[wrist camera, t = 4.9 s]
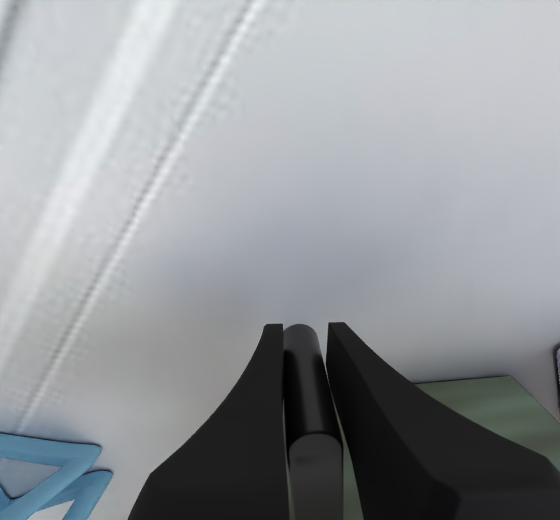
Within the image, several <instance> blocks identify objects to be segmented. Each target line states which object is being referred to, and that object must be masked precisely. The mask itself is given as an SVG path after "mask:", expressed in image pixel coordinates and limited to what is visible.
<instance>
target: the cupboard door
mask: <svg viewBox="0 0 560 520" xmlns="http://www.w3.org/2000/svg"><path fill="white" fill-rule="evenodd" d="M414 385H415V386H417V387H418V388H420V389H421V390H422V391H424V392H425V393H427V394H428V395H430V396H431V397H433V398H434V399H436V400H438V401H439V402H441V403H442V404H444V405H446V406H447V407H449V408H451V409H452V410H454V411H456V412H457V413H459V414H461V415H463V416H464V417H466V418H468V419H470V420H471V421H473V422H475V423H477V424H479V425H481V426H483V427H485V428H487V429H489V430H490V431H492V432H494V433H496V434H498V435H500V436H502V437H505V438H507V439H509V440H511V441H513V442H515V443H518V444H520V445H522V446H524V447H526V448H528V449H531V450H533V451H535V452H537V453H539V454H541V455H544V456H546V457H547V458H548V459H549V460H550V461H551V462H552V464H553V465H554V466H555V467H556V468H557V469H558V470H559V471H560V423H559V422H558V421H557V420H556V419H555V418H554V417H553V416H552V415H551V414H550V413H549V412H548V411H547V410H546V409H545V408H544V407H543V406H542V405H541V404H540V403H539V402H538V401H537V400H536V399H535V398H533V397H532V396H531V395H530V394H529V393H528V392H527V391H526V390H525V389H524V388H523V387H522V386H521V385H520V384H519V383H518V382H517V381H516V380H515V379H514V378H513V377H512V376H503V377H491V378H480V379H469V380H457V381H446V382H434V383H423V384H414ZM283 430H284V445H285V458H286V471H287V483H288V497H289V515H290V520H364V519H363V514H362V509H361V504H360V499H359V494H358V489H357V484H356V480H355V475H354V470H353V465H352V461H351V457H350V453H349V449H348V446H347V442H346V439H345V436H344V433H343V429H342V426H341V423H340V420H339V416H338V413H337V410H336V407H335V403H334V400H333V397H332V393H331V391H330V387H329V383H328V379H327V375H326V370H325V366H324V362H323V358H322V354H321V350H320V346H319V342H318V338H317V334H316V332H315V331H314V330H313V329H312V328H311V327H309V326H307V325H304V324H295V325H292V326H290V327H288V328H287V329H286V330H285V331H284V374H283Z"/></svg>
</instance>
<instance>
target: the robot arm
mask: <svg viewBox="0 0 560 520" xmlns="http://www.w3.org/2000/svg"><path fill="white" fill-rule="evenodd" d="M557 364H558V373H559V382H560V349H558V351H557ZM326 368H327V374H328V380H329V385H330V390H331V393H332V397H333V400H334V403H335V407H336V410H337V413H338V416H339V420H340V423H341V426H342V429H343V433H344V436H345V439H346V442H347V446H348V449H349V453H350V457H351V461H352V465H353V470H354V475H355V480H356V484H357V489H358V494H359V499H360V504H361V509H362V514H363V519H364V520H560V471H559V470H558V469H557V468H556V467H555V466H554V465H553V464H552V462H551V461H550V460H549V459H548V458H547V457H546V456H544V455H541V454H539V453H537V452H535V451H533V450H531V449H528V448H526V447H524V446H522V445H520V444H518V443H515V442H513V441H511V440H509V439H507V438H505V437H502V436H500V435H498V434H496V433H494V432H492V431H490V430H489V429H487V428H485V427H483V426H481V425H479V424H477V423H475V422H473V421H471V420H470V419H468V418H466V417H464V416H463V415H461V414H459V413H457V412H456V411H454V410H452V409H451V408H449V407H447V406H446V405H444V404H442V403H441V402H439V401H438V400H436V399H434V398H433V397H431V396H430V395H428V394H427V393H425V392H424V391H422V390H421V389H420V388H418V387H417V386H415V385H414V384H413V383H411V382H410V381H408V380H407V379H406V378H404V377H403V376H402V375H401V374H399V373H398V372H397V371H396V370H394V369H393V368H392V367H391V366H390V365H388V364H387V363H386V362H385V361H384V360H383V359H381V358H380V357H379V356H378V355H377V354H376V353H375V352H374V351H373V350H372V349H371V348H369V347H368V346H367V345H366V344H365V343H364V342H363V341H362V340H361V339H360V338H359V337H358V336H357V335H356V334H355V333H354V332H353V331H352V330H351V329H350V328H349V327H348V326H347V325H346V324H345V323H344V322H332V323H329V324H328V339H327V354H326ZM283 374H284V332H283V324H266V325H265V326H264V329H263V333H262V336H261V339H260V341H259V343H258V346H257V348H256V350H255V352H254V354H253V356H252V358H251V360H250V362H249V363H248V365H247V367H246V369H245V370H244V372H243V374H242V375H241V377H240V378H239V380H238V382H237V383H236V384H235V386H234V387H233V389H232V390H231V392H230V393H229V394H228V396H227V397H226V398H225V400H224V401H223V402H222V403H221V404H220V406H219V407H218V408H217V409H216V411H215V412H214V413H213V414H212V415H211V416H210V418H209V419H208V420H207V421H206V422H205V423H204V424H203V425H202V426H201V427H200V428H199V429H198V430H197V431H196V432H195V433H194V434H193V435H192V436H191V437H190V438H189V439H188V440H187V441H186V442H185V443H184V444H183V445H182V446H181V447H180V448H179V449H178V450H177V451H176V452H175V453H173V454H172V455H171V456H170V457H169V458H168V459H167V460H165V461H164V462H163V463H162V464H161V465H160V466H159V467H157V468H156V469H155V470H154V471H153V472H152V473H150V475H149V477H148V479H147V480H146V482H145V484H144V486H143V488H142V490H141V492H140V494H139V496H138V498H137V500H136V502H135V504H134V506H133V508H132V510H131V513H130V515H129V517H128V520H290V515H289V497H288V483H287V471H286V458H285V445H284V430H283Z"/></svg>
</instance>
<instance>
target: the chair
mask: <svg viewBox="0 0 560 520" xmlns="http://www.w3.org/2000/svg"><path fill="white" fill-rule="evenodd" d="M100 453H101V448H100V447H98V446H96V445H87V444H74V443H64V442H56V441H49V440H42V439H35V438H28V437H21V436H14V435H7V434H1V433H0V457H1V458H7V459H13V460H19V461H26V462H32V463H38V464H44V465H51V466H57V467H62V468H61V469H59V470H58V471H57V472H55V473H54V474H53V475H51V476H50V477H49V478H47V479H46V480H45V481H43V482H42V483H40V484H39V485H38V486H36V487H35V488H34V489H32V490H31V491H29V492H28V493H27V494H25V495H24V496H23V497H21V498H17V499H13V500H10V499H9V498H8V497H7V496H6V494H5V493H4V491H3V490H2V489H1V487H0V520H26V519H27V518H29V517H30V516H31V515H32V514H33V513H35V512H36V511H39V510H43V509H46V508H49V507H52V506H55V505H58V504H61V503H64V502H67V501H71V500H74V499H75V501H74V502H73V504H72V505H71V507H70V509H69V510H68V512H67V513H66V515H65V516H64V518H63V520H87V519H88V517H89V515H90V514H91V512H92V510H93V508H94V507H95V505H96V503H97V502H98V500H99V498H100V497H101V495H102V494H103V492H104V490H105V489H106V487H107V485H108V484H109V482H110V480H111V478H112V474H111V473H110V472H108V471H97V472H92V473H88V474H85V475H82V474H83V473H84V472H86V471H87V470H88V469H89V468H91V466H92V465H93V463H94V462H95V460H96V459H97V457H98V456H99V454H100ZM81 475H82V476H81Z"/></svg>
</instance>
